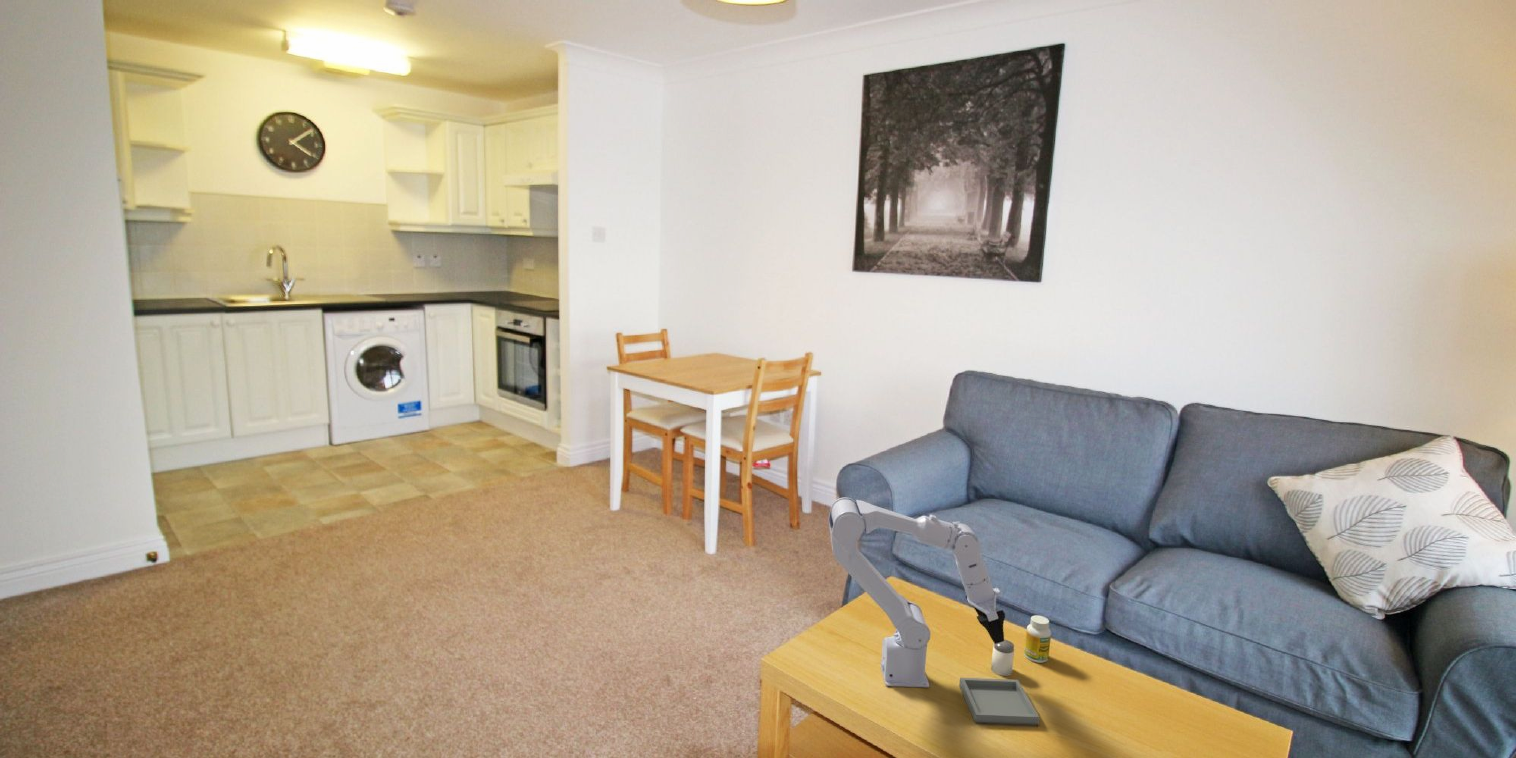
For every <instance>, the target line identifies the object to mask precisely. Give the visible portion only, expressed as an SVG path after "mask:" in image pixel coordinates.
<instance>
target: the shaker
mask: <svg viewBox="0 0 1516 758" xmlns="http://www.w3.org/2000/svg"><path fill="white" fill-rule="evenodd" d="M991 654H992V656H991V666H990V669H991V671H992V673H994V674H995V675H998V676H1001V677H1009V676H1012V673H1013V667H1014V666H1013V665H1014V659H1015V658H1014V657H1015V645H1014V643H1013V642H1012V641H1009V640H1008V639H1005V638H1004V641H1003V642H1000V643H997V644H995V643H994V642H993V646H992V653H991Z"/></svg>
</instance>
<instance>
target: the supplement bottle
mask: <svg viewBox="0 0 1516 758" xmlns="http://www.w3.org/2000/svg"><path fill="white" fill-rule="evenodd" d="M1029 622H1030V623H1029V624H1028V625H1027V626H1026V631H1025V632H1026V634H1025V643H1024V652H1023V653H1024V656H1025V658H1026V659H1027V660H1029V661H1032V662H1034V663H1040V664H1042V663H1045V662H1046V663H1047V662H1048V660H1049V654H1050V647H1051V646H1050V645H1051V639H1052V631H1051V629H1050V620H1049V618H1047V617H1045V616H1042V615H1039V614H1037V615H1031V617H1030V621H1029Z"/></svg>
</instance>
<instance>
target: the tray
mask: <svg viewBox="0 0 1516 758" xmlns="http://www.w3.org/2000/svg"><path fill="white" fill-rule="evenodd" d="M958 686H959V689H960V691H961V694H962V695H963V697H964V700H965V703H966V705H967V707H968V710H969V712H970V714H971V716H972V719H973V721H974V724H977V725H1001V726H1003V725H1004V726H1005V725H1006V726H1029V727H1031V726H1032V727H1039V725H1040V716H1039V713H1038V712H1037V710H1036V708H1035V707H1034V705H1033V704H1032V701H1031V700H1030V698H1029V696H1028V695H1027V692H1026V691H1025V689H1024V688H1023V686H1022V684H1021V682H1020V681H1019V679H1009V678H1007V679H1006V678H1004V679H1003V678H983V677H982V678H981V677H979V678H977V677H976V678H975V677H959V685H958Z"/></svg>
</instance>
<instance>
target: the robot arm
mask: <svg viewBox="0 0 1516 758" xmlns="http://www.w3.org/2000/svg"><path fill="white" fill-rule="evenodd" d="M829 510H830V511H829V513H828V514H829V515H828V517H827V519H828V526H829V533H830V534H829V535H830V543H831V551H832V555H833V558H834V559H835V561H837V563H839V564H840V566H841V568H843V569H844V570H845V571H846V572H847V573H848V574H849V576H851V578H852V579H853V580H854V581H855V582H856V583H857V585H859V586H860V588H862V590H863V591H864V592H865V593H866V594H867V595H868V596H869V597H870V598H871V599H872V600H873V601H874V603H876V604H877V606H878V607H879V608H880V609H881V610H882V611H883V612H884V613H885V614H886V616H887V617H888V619H889V621H890V622H891V624H892V625H893V627H894V629H896V630H895V631H894V633H893V635H892V636H889V637H888V636H887V637H884V638H882V647H881V660H880V661H881V663H880V669H881V673H882V677H883V680H884V685H886V686H888V687H911V688H930V683H929V680H928V677H927V675H926V674H927V673H926V665H927V664H926V663H927V662H926V661H927V651H928V650H927V649H928V648H927V647H928V643H930V640H931V630H930V628H929V626H928V625H927V622H926V621H925V618H924V615H923V611H922V608H921V607H920V606H919V605H918V604H917V603H915V602H913V601H910V600H908V599H907V598H906V597H905V596H904V595H902V594H900V593H898V591H897V590H896V589H895V588H894V587H893V586H892V585H891V583H890V582H889V581H888V580H887V579H886V578H885V577H884V576H883V575H882V574H881V573H880V572H879V571H878V570H877V569H876V567H874V565H873V564H872V563H871V562H870V561H869V560H868V558H867V557H865V556H864V554H863V553H862V552H861V551H860V550H859V549H858V548H857V546H858V542H859V540H860V538H861V536H862V535H863V533H864V531H865V533H866V534H869V533H871V532H873V531H874V530H875V529H877V528H882V529H886V530H891V531H895V532H900V533H903V534H909V535H913V537H914V539H915V540H916V542H918V543H921V544H923V545H928V546H930V547H935V548H939V549H943V550H945V551H947V550H948V551H950V550H951V551H952V553H953V555H954V559H955V564H956V567H957V571H958V573H959V575H960V579H961V582H962V585H963V588H964V591H965V594H966V595H965V599H966V602H968V604H969V605H970V606H972V608H973V609H974V610H975V612H976V614H977V615H976V619H977V620H978V622H979V624H980V625H981V626H982V627H984V628H985V630H986V632H987V633H988V635H989V637H990V639H991V640H992V642H993V644H994V643H995V644H997V643H1000V642H1003V641H1004V639H1005V633H1004V623H1005V619H1006V613H1005V612H1004V610H1003V609H1001V610H998V611H997V610H996V606H997V605H996V604H997V597H998V596H1000V595H1001V590H1000V589H999V588H998V587H995V588H994V587H993V584H992V582H991V579H990V576H989V572H988V569H987V567H986V564H985V560H984V558H983V555H982V553H981V541H980V540H979V539H978V537H977V536H976V534H975V533H974V531H973V529H972V528H971V527H970V526H969V525H968V524H966V523H964V522H963V521H952V522H948V521H945V520H941V519H938V517H937V516H936V515H935V514H929V516H927V515H922V516H919V517H918V518H915V517H910V516H908V515H906V514H905V515H904V514H901V513H898V512H896V511H892V510H890V509H887V508H882V507H879V506H877V505H875V504H872V503H869V502H867V501H863V500H860V499H855V500H854V499H853V498H850V497H845V496H843V497H839V498H838V499H837V498H836V500H834V502H833V503H832V504H831V506H830V509H829Z"/></svg>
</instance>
